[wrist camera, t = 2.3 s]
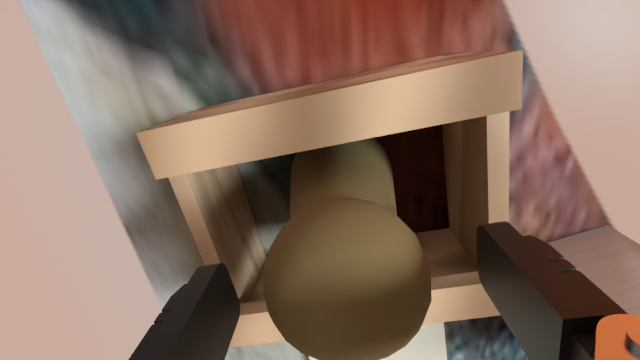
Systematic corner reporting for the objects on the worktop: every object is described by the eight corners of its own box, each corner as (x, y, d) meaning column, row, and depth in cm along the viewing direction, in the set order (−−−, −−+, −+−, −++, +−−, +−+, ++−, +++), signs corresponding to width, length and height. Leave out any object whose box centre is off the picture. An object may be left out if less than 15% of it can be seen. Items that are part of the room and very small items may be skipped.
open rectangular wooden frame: (453, 52, 16) (522, 49, 10) (463, 236, 20) (517, 313, 14) (203, 107, 17) (135, 133, 11) (257, 267, 21) (228, 347, 15)
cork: (349, 237, 20) (363, 425, 10) (271, 184, 19) (195, 334, 9) (414, 166, 18) (516, 310, 8) (331, 103, 17) (324, 173, 7)
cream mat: (436, 265, 20) (439, 271, 20) (446, 371, 24) (448, 378, 23) (290, 286, 22) (289, 292, 21) (319, 384, 25) (319, 391, 25)
